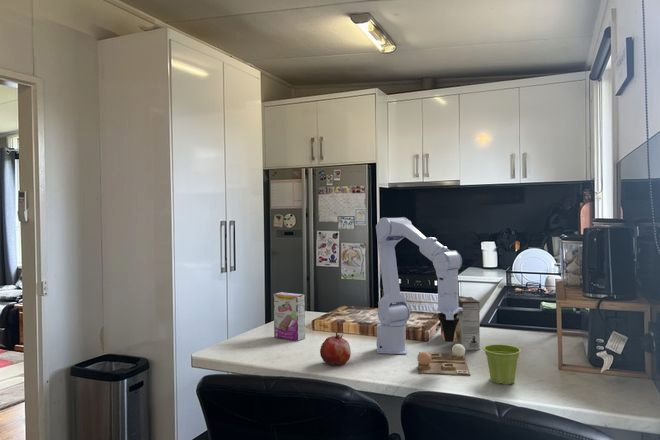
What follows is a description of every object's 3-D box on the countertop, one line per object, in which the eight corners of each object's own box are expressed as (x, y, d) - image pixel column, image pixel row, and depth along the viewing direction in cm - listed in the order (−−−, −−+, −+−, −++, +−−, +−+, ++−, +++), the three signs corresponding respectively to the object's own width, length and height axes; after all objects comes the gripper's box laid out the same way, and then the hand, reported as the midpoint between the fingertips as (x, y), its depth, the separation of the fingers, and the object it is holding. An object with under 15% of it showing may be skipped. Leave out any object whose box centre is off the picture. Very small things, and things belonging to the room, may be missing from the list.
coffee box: (453, 343, 170) (453, 297, 170) (471, 342, 170) (471, 296, 170) (461, 350, 161) (461, 301, 160) (481, 349, 161) (480, 301, 161)
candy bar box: (273, 337, 181) (272, 293, 180) (281, 335, 185) (281, 291, 185) (297, 341, 175) (297, 296, 174) (305, 338, 179) (305, 294, 179)
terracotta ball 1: (417, 367, 141) (417, 353, 141) (417, 363, 145) (417, 349, 145) (431, 367, 140) (431, 354, 140) (431, 363, 144) (430, 350, 144)
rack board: (418, 373, 138) (418, 369, 138) (418, 353, 158) (418, 349, 158) (470, 375, 135) (470, 371, 135) (463, 355, 155) (463, 351, 155)
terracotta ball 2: (442, 343, 140) (441, 329, 140) (441, 340, 144) (441, 326, 143) (456, 344, 139) (456, 330, 139) (455, 340, 143) (455, 327, 143)
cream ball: (452, 358, 149) (452, 345, 149) (451, 354, 153) (451, 342, 153) (465, 359, 148) (465, 346, 148) (464, 355, 152) (464, 342, 152)
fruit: (315, 361, 151) (315, 329, 150) (343, 357, 154) (343, 326, 154) (327, 370, 142) (326, 336, 142) (356, 365, 146) (355, 332, 146)
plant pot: (501, 389, 125) (501, 355, 125) (476, 378, 133) (476, 346, 133) (528, 383, 129) (528, 351, 128) (503, 373, 137) (502, 342, 137)
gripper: (464, 297, 133) (465, 346, 133) (460, 289, 147) (460, 333, 148) (438, 296, 134) (438, 345, 135) (436, 288, 149) (436, 333, 149)
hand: (448, 339), depth 141 cm, fingers closed on terracotta ball 2, 4 cm apart
